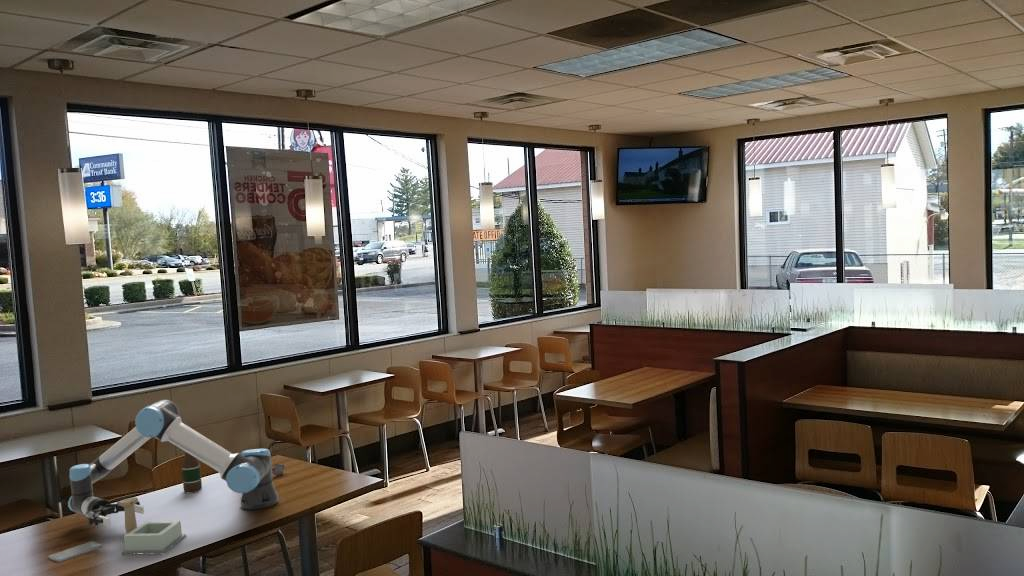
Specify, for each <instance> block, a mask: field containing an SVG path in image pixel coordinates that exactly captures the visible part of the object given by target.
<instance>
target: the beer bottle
mask: <svg viewBox="0 0 1024 576" xmlns="http://www.w3.org/2000/svg"><path fill="white" fill-rule="evenodd" d="M200 463H201V461H200V460H198V459H197V458H195V457H194V456H192V455H190V454H189V453H187V452H186V451H184V457H183V459H182V462H181V474H182V475H181V476H182V485H183V491H185V492H184V493H186V492H192V493H196V492H195V491H197V492H199V491H198V490H200V491H201V490H202V488H203V485H202V473H201V464H200Z"/></svg>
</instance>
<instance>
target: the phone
mask: <svg viewBox="0 0 1024 576" xmlns="http://www.w3.org/2000/svg"><path fill="white" fill-rule="evenodd" d="M100 548H103V544H102V543H99V542H97V541H94V540H91V541H90V540H89V541H88V542H84V543H82V544H79V545H76V546H73V547H70V548H68V549H64V550H62V551H58V552H55V553H53V554H49V555H48V559H49V560H52V561H53V562H54V561H55V562H56V563H61V562H64V561H66V560H70V559H73V558H75V557H77V555H78V556H81V555H84V554H86V553H89V552H92V551H94V550H95V551H96V550H98V549H100ZM83 553H84V554H83ZM80 554H81V555H80ZM74 556H75V557H74Z"/></svg>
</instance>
